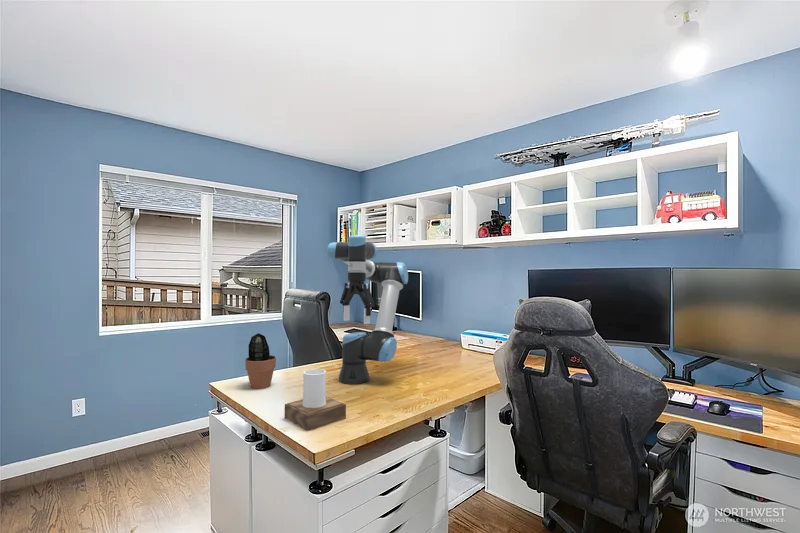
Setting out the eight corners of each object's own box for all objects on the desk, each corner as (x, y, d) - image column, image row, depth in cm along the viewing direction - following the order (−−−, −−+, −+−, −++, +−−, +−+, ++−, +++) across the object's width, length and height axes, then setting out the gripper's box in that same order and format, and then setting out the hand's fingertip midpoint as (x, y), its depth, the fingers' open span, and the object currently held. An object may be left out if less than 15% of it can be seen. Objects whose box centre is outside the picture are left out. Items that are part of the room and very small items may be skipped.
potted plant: (281, 386, 180) (281, 332, 180) (252, 392, 170) (253, 336, 170) (267, 380, 189) (268, 329, 190) (239, 386, 180) (240, 332, 180)
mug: (306, 397, 148) (306, 366, 148) (328, 397, 148) (328, 366, 149) (300, 408, 136) (300, 374, 136) (324, 408, 137) (324, 374, 137)
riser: (284, 417, 142) (284, 403, 142) (321, 406, 153) (321, 393, 153) (307, 430, 130) (308, 414, 130) (345, 418, 142) (346, 403, 142)
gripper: (332, 271, 168) (331, 320, 168) (369, 272, 151) (368, 326, 150) (346, 271, 174) (345, 318, 173) (383, 272, 156) (382, 324, 156)
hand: (356, 322), depth 162 cm, fingers open, 13 cm apart
